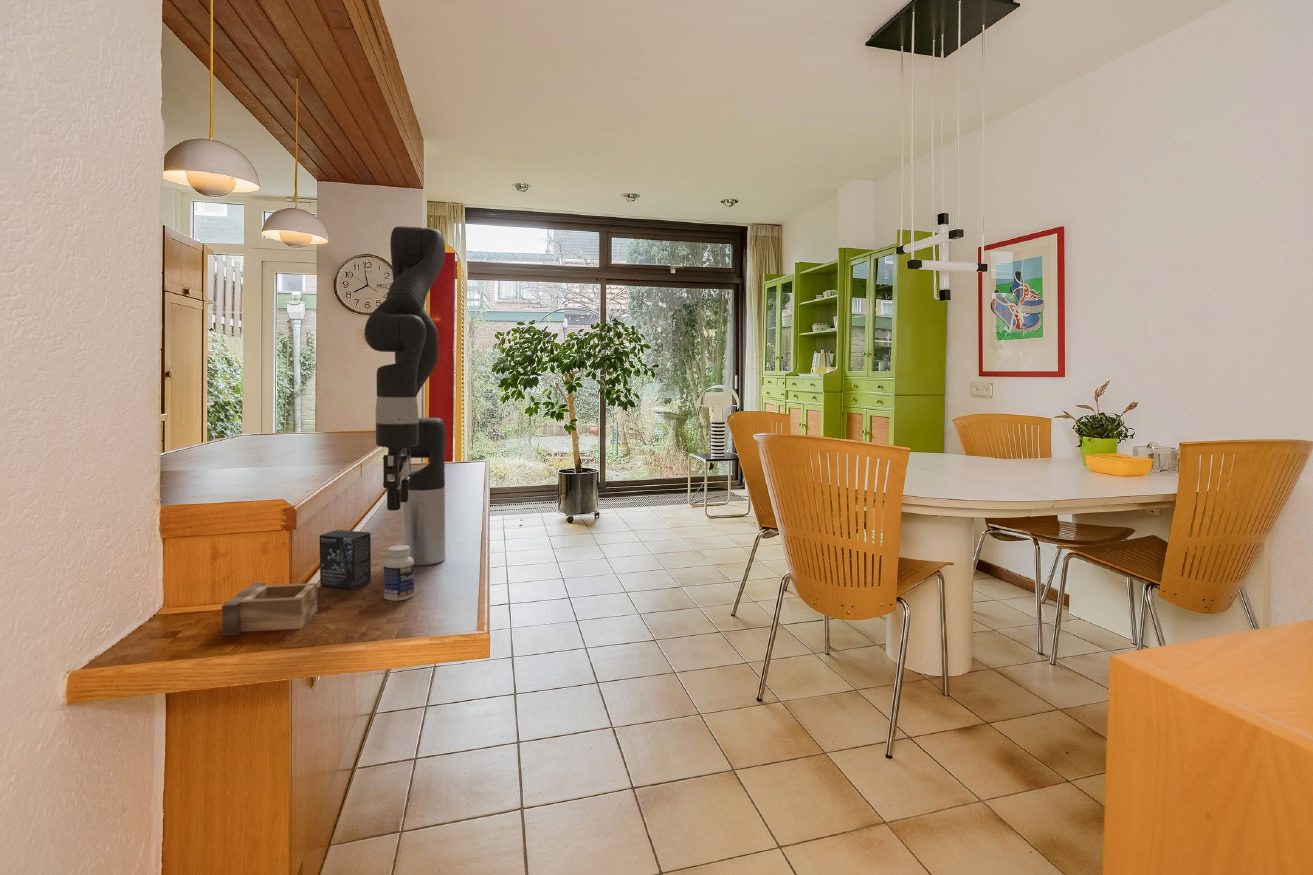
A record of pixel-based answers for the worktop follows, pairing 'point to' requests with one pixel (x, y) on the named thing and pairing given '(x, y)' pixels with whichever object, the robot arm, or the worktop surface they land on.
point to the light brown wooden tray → (278, 607)
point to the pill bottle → (398, 574)
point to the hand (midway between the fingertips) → (398, 505)
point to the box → (345, 559)
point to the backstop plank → (235, 611)
